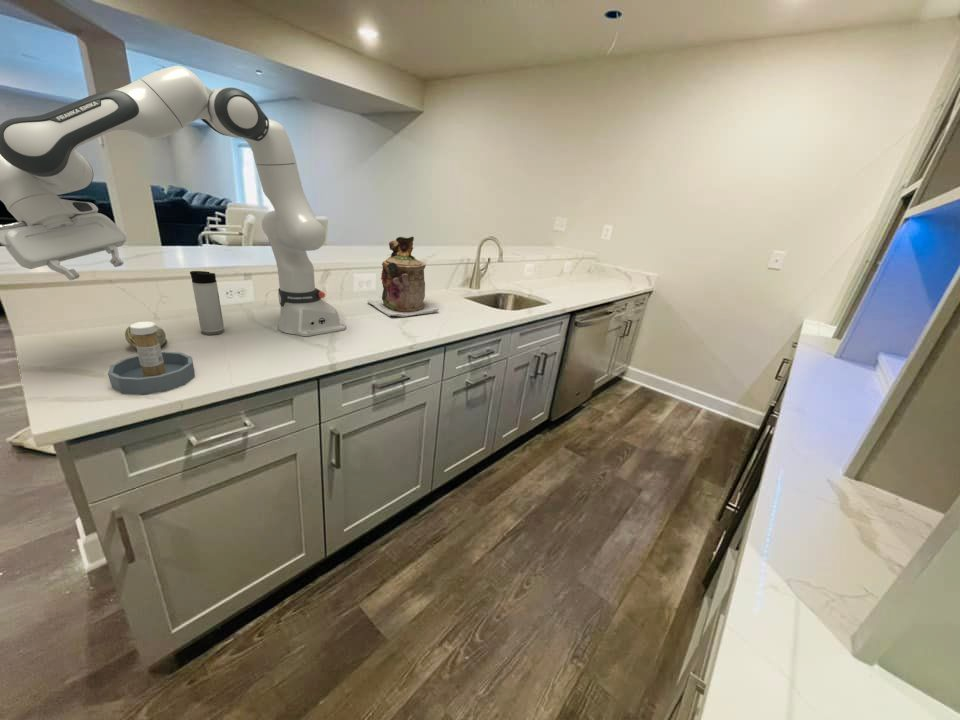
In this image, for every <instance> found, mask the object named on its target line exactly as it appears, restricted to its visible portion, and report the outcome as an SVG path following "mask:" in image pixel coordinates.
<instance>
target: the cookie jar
mask: <svg viewBox="0 0 960 720" xmlns="http://www.w3.org/2000/svg"><path fill="white" fill-rule="evenodd" d="M414 240H415V238H414V236H412V235H411V236H409V237H406V236H405V237H404V236H398V237H396V239H395V240H392V241H389V242H388V247H389V250H391V251H392V253H391V254H390V256H389V257H387V258H386V259H385V260H383V262H382V263H381V266H382V271H381V277H380V280H381V284H382V288H383V290H382V294H381V299H382V300H367V301H366V302H367V303H368V304H369V305H372V306H373V307H375V308H376V309H377V310H378V311H381V312H382V313H383V314H385V315H386V316H388V317H391V316H394V317H395V316H396V317H399V318H404V317H410V316H411V317H412V316H417V315H424V314H434V313H435V314H437V313H438V311H439V310H440V308H438V307H435V306H433V305H430V304H428V303H425V302H424V300H425V298H426V282H425V268H426V266H427V264H426V262H424V261H421V260H419V259H416V257H415V256H413V255H412V252H413V249H414V247H413V244H414V243H413V242H414Z"/></svg>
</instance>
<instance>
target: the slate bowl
mask: <svg viewBox="0 0 960 720" xmlns="http://www.w3.org/2000/svg"><path fill="white" fill-rule="evenodd" d="M161 352H162V356H163V361H164V366H165V370H166V374H163V375H159V376H151V377H143V371H142V367H141V365H140V361H139V357H138V354H136V355H133V356H130V357H125V358H123V359H120V360H119V361H117V362H114V363H113V364H111V365H109V369H108V371H107V376H108V380H109V381H110V385H111V388H112V390H114V391H116V392H118V393H120V394H121V395H135V396H136V395H138V396H145V395H151V394H157V393H158V394H159V393H166V392H169V391H172V390H174V389H178V388H180V387H183V386H186V385H187V384H188V383H189V382H191V381H192V380H193V379H195V378H196V376H195V375H196V373H195V366H194V361H193V356H190V355H188V354H185V353H183V352H177V351H161Z"/></svg>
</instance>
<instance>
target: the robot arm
mask: <svg viewBox="0 0 960 720" xmlns="http://www.w3.org/2000/svg"><path fill="white" fill-rule="evenodd" d="M198 120H201V121H202V122H203V123H204V124H206V125H207V126H209V128H211V129H212V130H213V131H215V132H217V133H218V134H220V135H222V136H224V137H225V136H227V137H230V138H237V139H239V138H240V139H241V138H242V139H244V141H245V142H247V144H248V145H249V148H250V150H251V151H252V155H253V160H254V163H255V166H256V170H257V174H258V177H259V181H260V184H261V189H262V192H263V194H264V195H265V197H266V198H267V199H268V200H269V202H270V203H271V206H272V208H273V209H274V210H270V211H268V212H266V213H265V215H263V217H262V220H261V228H262V230H263V233H264V234H265V235H266V237H267V239H268V241H269V243H270V247H271V251H272V252H273V257H274V259H275V263H276V268H277V277H278V286H279V287H278V292H277V294H278V296H277V297H278V303H279V305H280V315H279V322H278V327H277V329H278V330H279V331H280V332H283V333H286V334H290V335H298V336H301V337H310V336H317V335H321V334H322V335H324V334H328V333H334V332H341V331H345V330H346V329H347V325H346V322H345V321H344V319H341V318H340V316H339V312H338V311H337V308H335V307H334V306H333V305H332V304H330V303H328V302H327V301H326V300H324V299H325V297H326V294H325V292H323V291H321V290H320V289H318V288H316V282H315V268H314V264H313V263H312V261H311V260H310V259H309V255H308V254H307V252H309V251H316V250H319V249H320V248H322V247H323V245H324V244H325V241H326V230H325V228H324V226H323V225H322V223H320V221H319V220H318V219H317V217H316V216H315V214H314V212H313V210H312V207H311V206H310V204H309V201H308V199H307V197H306V194H305V192H304V189H303V186H302V181H301V177H300V173H299V169H298V164H297V160H296V155H295V152H294V149H293V146H292V143H291V140H290V138H289V135H288V133H287V131H286V129H285V127H284V126H283V125H282V124H281V123H280V122H278V121H276V120H274V119H269V117H268V116H267V115H266V114H265V113H264V112H263V110H262V108H261V107H260V106H259V103H258V102H257V101H256V100H255V99H254V98H253V97H252V96H251V95H250V93H248V92H245V91H244V90H242V89H240V88H237V87H219V88H216V89H211V88H208V87H207V85H205V84H204V82H203V81H202V80H201V79H200V78H199V77H198V76H197V75H196V73H194V72H192V71H191V70H190V69H188V68H186V67H185V66H182V65H173V66H169V67H164V68H161V69H158V70H155V71H153V72H150V73H148V74H146V75H144V76H142V77H140V78H138V79H136V80H135V81H133V82H131V83H129V84H126V85H123V86H121V87H119V88H116V89H109V90H105V91H99V92H97V93H94V94H92V95H89V96H85V97H84V98H81V99H79V100H76V101H74V102H70V103H69V104H66V105H64V106H61V107H58V108H57V109H54V110H51V111H48V112H45V113H43V114H39V115H33V116H20V117H13V118H10V119H7V120H5V121H3V122H2V123H0V201H1V202H2V203H3V204H4V206H5V208H6V210H7V211H8V212H9V213H10V214H11V216H13V217H14V219H15V220H16V222H12V223H11V222H10V223H6V224H0V245H1V246H4V247H5V249H6V250H7V251H8V254H10V255H11V257H12V258H13V259H14V260H15V261H16V262H17V264H18V265H19V266H20V267H23V268H25V269H27V270H32V269H37V268H40V267H44V266H47V267H48V268H49V269H50V270H52V271H55V272H56V273H59V274H61V275H64V276H65V277H66V278H67V279H68V280H69V281H75V280H77V279H79V277H81V276H80V273H79V272H77V271H76V270H75V269H74V268H71V269H69V268H68V267H67V268H66V267H64V266H63V265H61V262H65V261H68V260H72V259H76V258H79V257H84V256H89V255H92V254H96V253H100V252H104V251H105V252H106V253H107V254H109V255H110V254H111V259H110V260H109V262H110V263H111V264H112V265H113V267H114V268H117V267H122V266H123V265H124V264H125V263H124V260H122V258H120V254H119V248H120V247H122V246H124V244H125V243H126V241H127V235H126V234H125V232H123V231H122V229H121V228H120V227H119V226H118V225H117V224H116V223H115V222H114V221H113V220H112V219H111V218H110V217H108V216H107V215H105V214H103V213H100V212H99V207H98V206H97V205H95V204H94V203H92V202H89V201H79V200H78V201H77V200H69V199H65V198H60V197H59V196H62V195H67V194H70V193H74V192H75V193H76V192H78V191H81V190H84V189H86V188H88V187H90V185H91V184H92V182H93V180H94V170H93V167H92V165H91V164H90V162H89V161H88V160H87V159H86V158H85V157H84V156H83V155H82V154H81V153H79V152H78V151H77V150H76V149H77V148H79V147H81V146H82V145H84V144H86V143H89V142H91V141H93V140H96V139H98V138H100V137H102V136H103V135H106V134H108V133H111V132H113V131H128V132H132V133H136V134H137V135H141V136H143V137H146V138H149V139H157V140H158V139H163V138H165V137H169V136H171V135H173V134H175V133H177V132H179V131H181V130H182V129H183V128H186V126H188V125H190V124H191V123H193V122H195V121H198Z"/></svg>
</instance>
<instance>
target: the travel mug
mask: <svg viewBox="0 0 960 720" xmlns="http://www.w3.org/2000/svg"><path fill="white" fill-rule="evenodd" d="M189 275H190V276H191V277H190V278H191V284H192V289H193V296H194V299H195V300H194V301H195V305H196V311H197V317H198V321H199V326H200V331H201V334H203V335H205V336H217V335H220V334H223V333H224V332H225V326H224V319H223V313H222V307H221V301H220V300H221V299H220V295H219V289H218V282H217V277H216V273H214V272H211V271H204V270H203V271H202V270H192V271H189Z"/></svg>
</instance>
